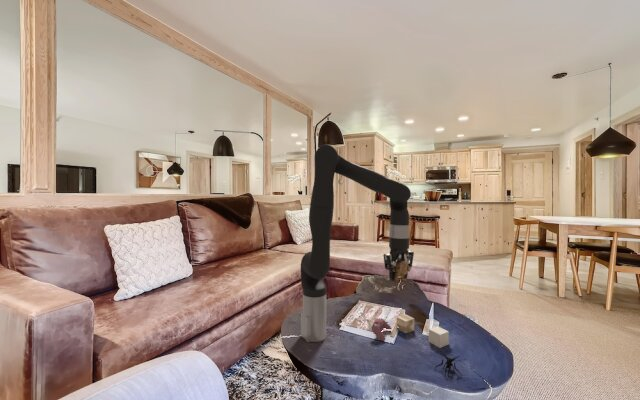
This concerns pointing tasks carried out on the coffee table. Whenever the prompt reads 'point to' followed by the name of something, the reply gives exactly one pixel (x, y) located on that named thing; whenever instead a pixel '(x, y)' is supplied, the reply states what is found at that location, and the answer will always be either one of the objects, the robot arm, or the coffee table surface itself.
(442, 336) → the beige block
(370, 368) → the coffee table surface
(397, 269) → the lion figurine
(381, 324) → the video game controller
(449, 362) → the creature
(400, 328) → the birch block
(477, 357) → the coffee table surface
